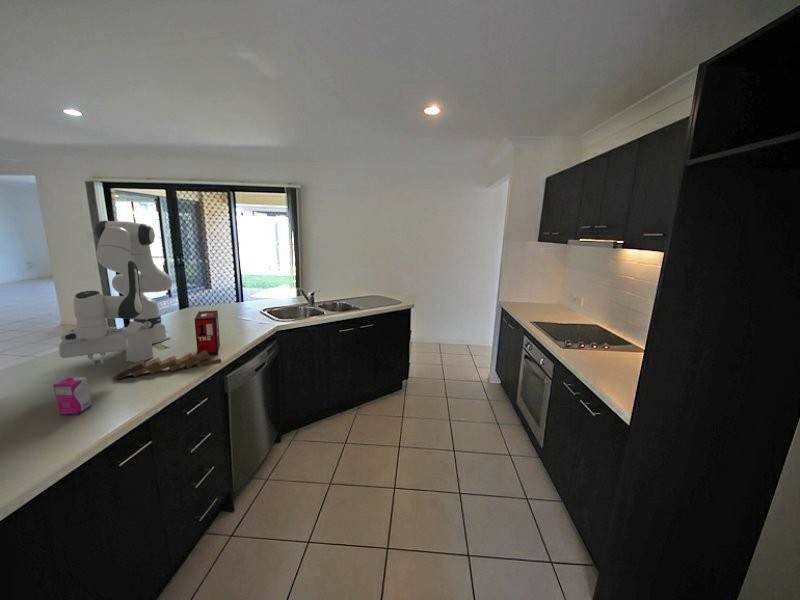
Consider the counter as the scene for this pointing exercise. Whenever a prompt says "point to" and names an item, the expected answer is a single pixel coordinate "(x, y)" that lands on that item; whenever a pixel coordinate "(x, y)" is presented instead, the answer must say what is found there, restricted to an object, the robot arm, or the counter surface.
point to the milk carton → (138, 342)
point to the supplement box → (72, 396)
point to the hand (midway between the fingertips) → (98, 363)
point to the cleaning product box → (207, 332)
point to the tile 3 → (164, 364)
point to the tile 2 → (147, 367)
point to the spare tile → (130, 369)
